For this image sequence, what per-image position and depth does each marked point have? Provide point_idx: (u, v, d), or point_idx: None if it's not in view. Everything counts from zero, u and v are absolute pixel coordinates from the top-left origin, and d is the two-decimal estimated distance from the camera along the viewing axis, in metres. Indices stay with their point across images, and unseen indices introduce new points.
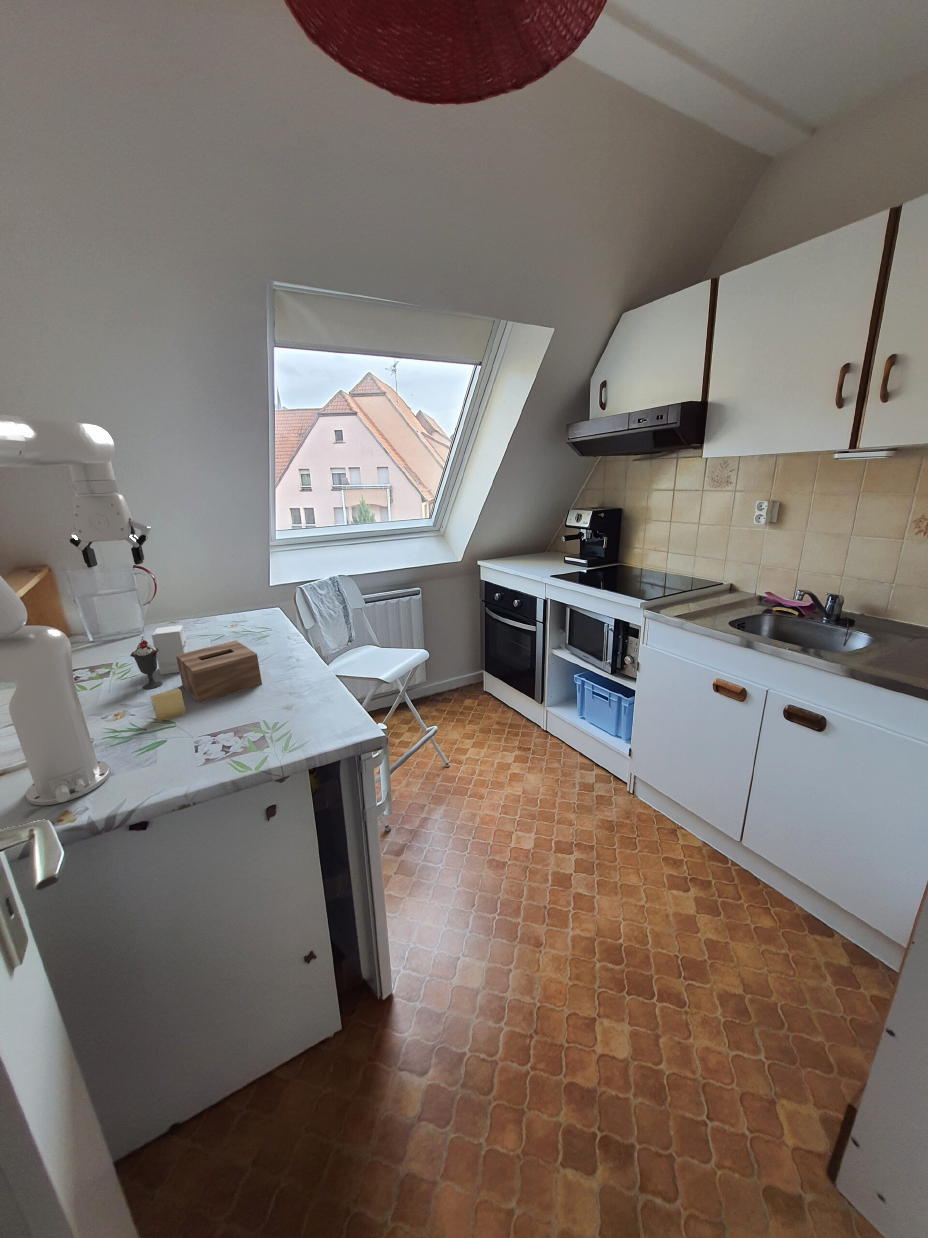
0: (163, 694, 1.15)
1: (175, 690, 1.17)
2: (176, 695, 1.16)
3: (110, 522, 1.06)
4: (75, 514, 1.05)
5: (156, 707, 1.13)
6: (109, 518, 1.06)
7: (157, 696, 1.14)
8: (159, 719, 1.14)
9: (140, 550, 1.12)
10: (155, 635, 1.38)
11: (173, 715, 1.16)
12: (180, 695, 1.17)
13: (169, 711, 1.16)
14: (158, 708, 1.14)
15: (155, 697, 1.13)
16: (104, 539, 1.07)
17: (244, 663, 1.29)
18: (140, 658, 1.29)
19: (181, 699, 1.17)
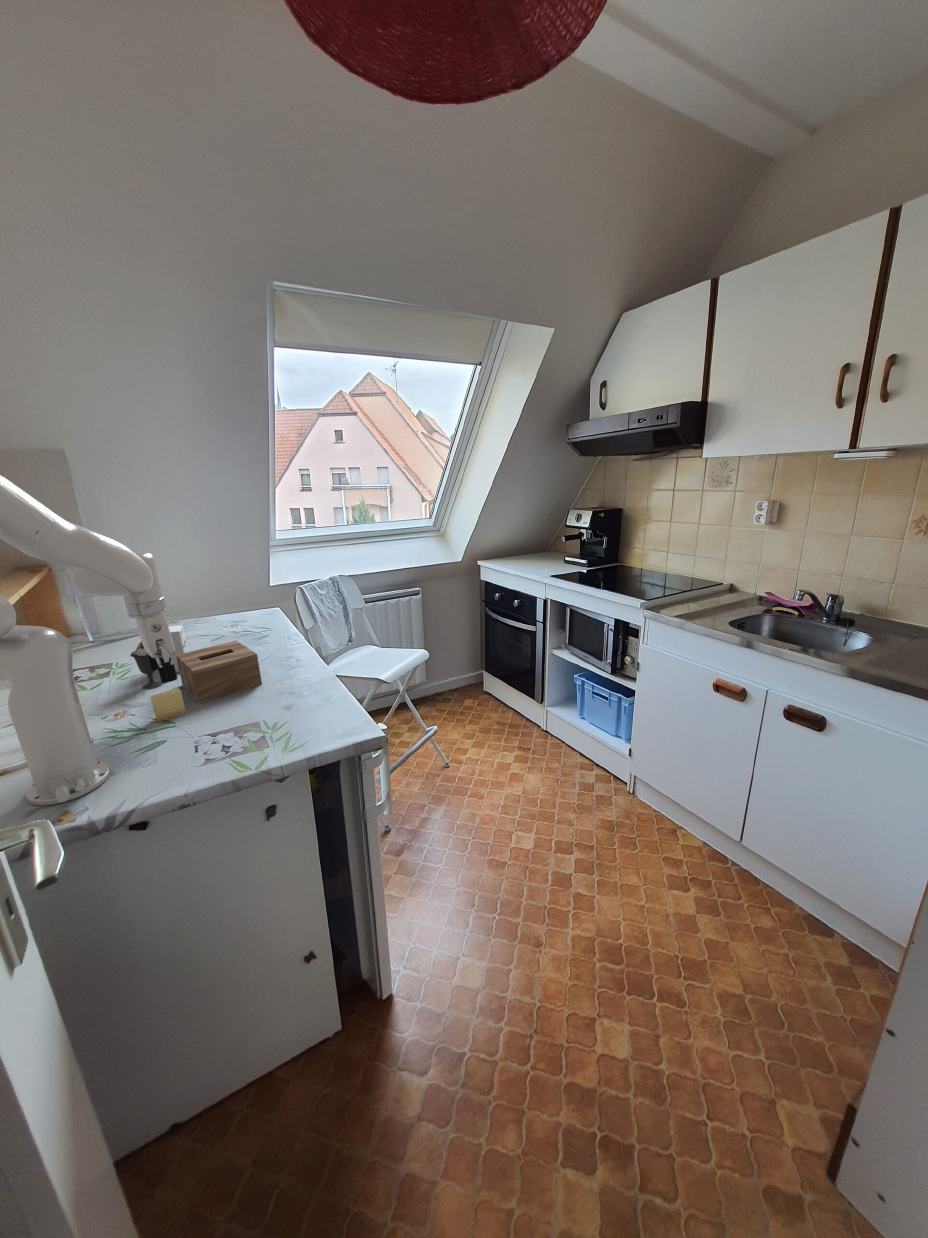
0: (163, 694, 1.15)
1: (175, 690, 1.17)
2: (176, 695, 1.16)
3: None
4: None
5: (156, 707, 1.13)
6: None
7: (157, 696, 1.14)
8: (159, 719, 1.14)
9: None
10: None
11: (173, 715, 1.16)
12: (180, 695, 1.17)
13: (169, 711, 1.16)
14: (158, 708, 1.14)
15: (155, 697, 1.13)
16: None
17: (244, 663, 1.29)
18: (140, 658, 1.29)
19: (181, 699, 1.17)
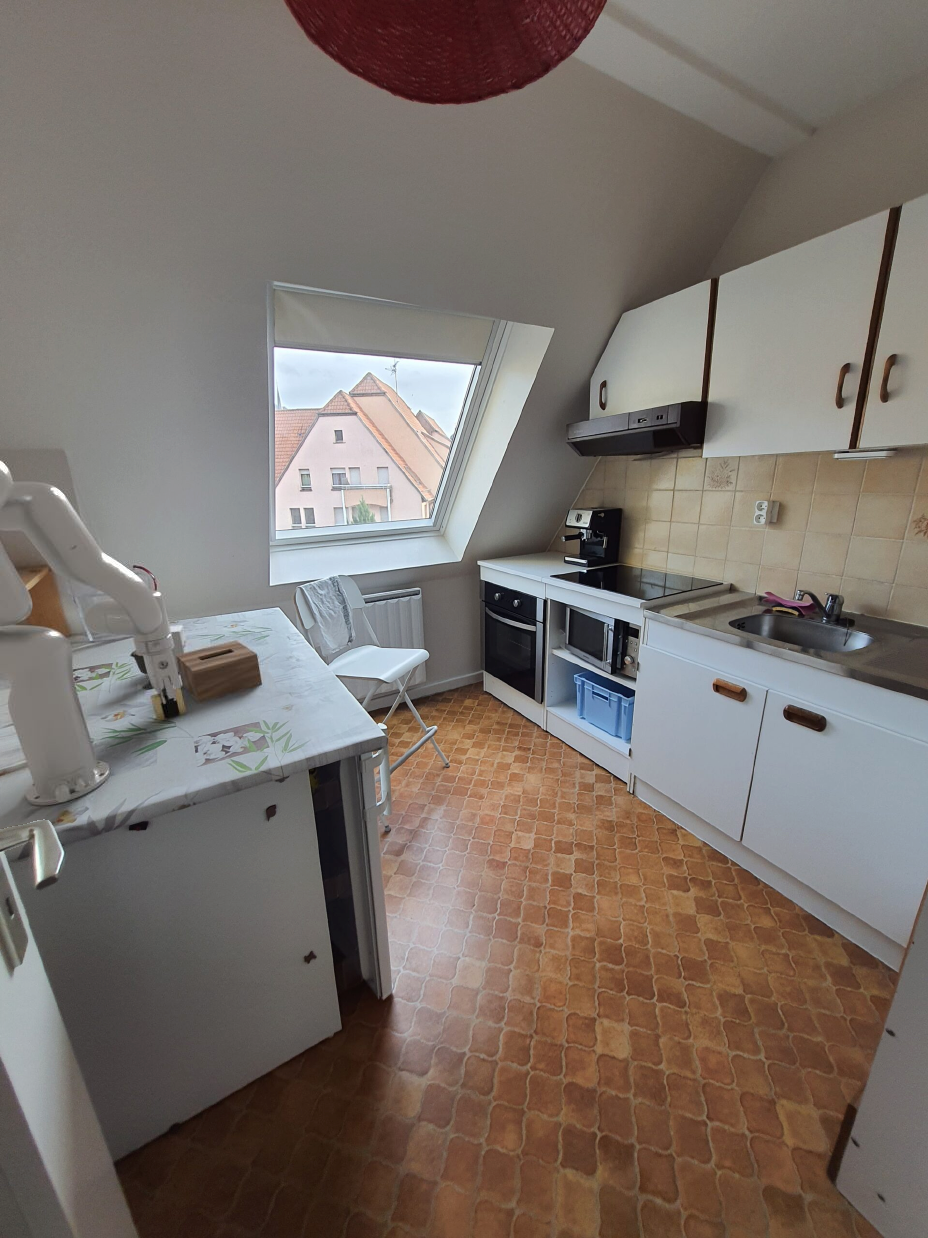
0: None
1: (175, 690, 1.17)
2: (176, 694, 1.16)
3: None
4: (175, 666, 1.12)
5: (156, 707, 1.14)
6: None
7: (157, 696, 1.14)
8: (159, 719, 1.15)
9: None
10: None
11: None
12: (180, 695, 1.17)
13: None
14: (158, 708, 1.14)
15: (155, 697, 1.14)
16: None
17: (244, 663, 1.29)
18: (140, 658, 1.29)
19: (181, 699, 1.17)
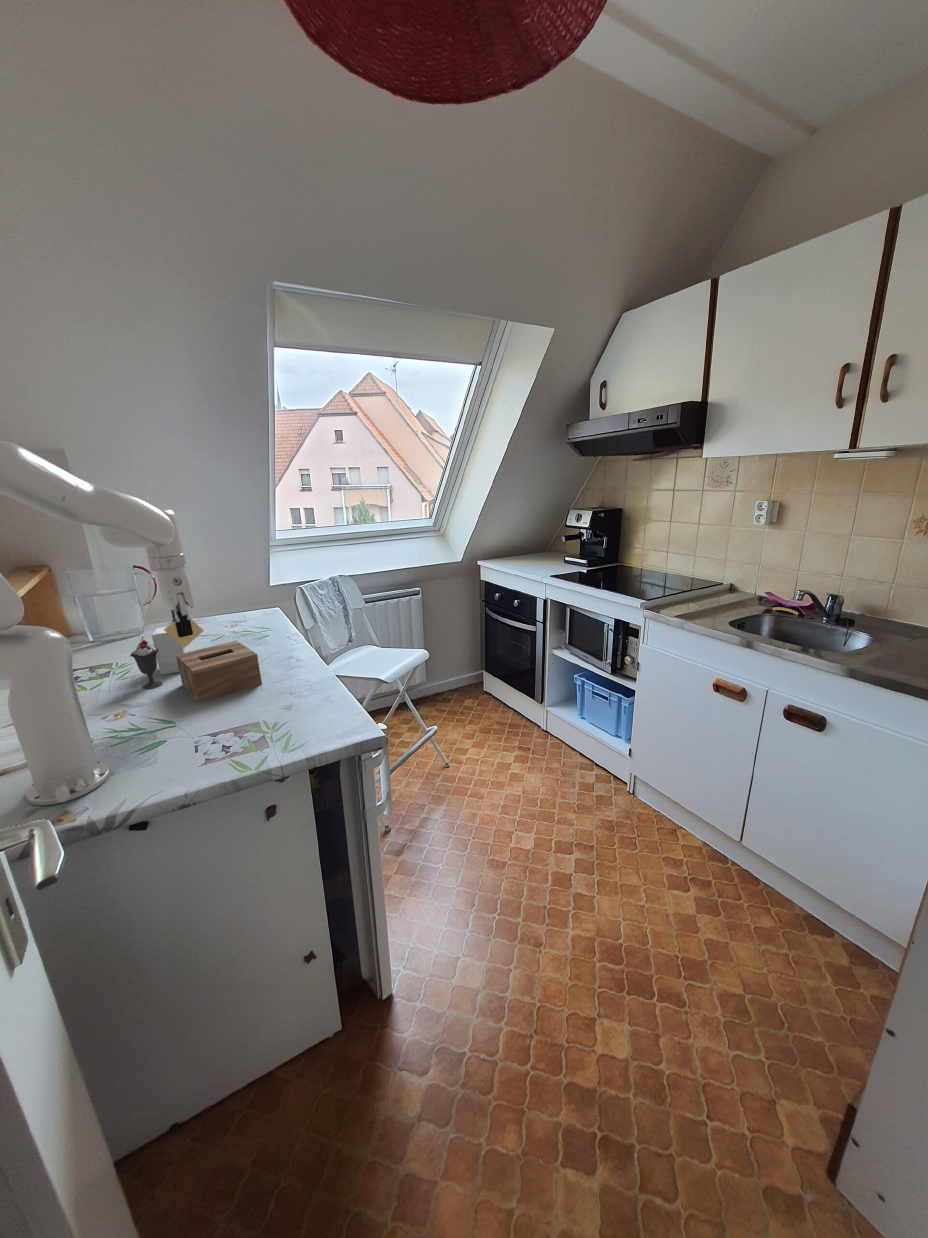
0: (173, 623, 1.18)
1: None
2: None
3: None
4: None
5: (174, 637, 1.18)
6: None
7: (168, 627, 1.17)
8: (184, 645, 1.20)
9: None
10: (155, 635, 1.38)
11: (194, 637, 1.21)
12: None
13: None
14: (176, 637, 1.18)
15: (167, 629, 1.17)
16: None
17: (244, 663, 1.29)
18: (140, 658, 1.29)
19: (191, 621, 1.20)
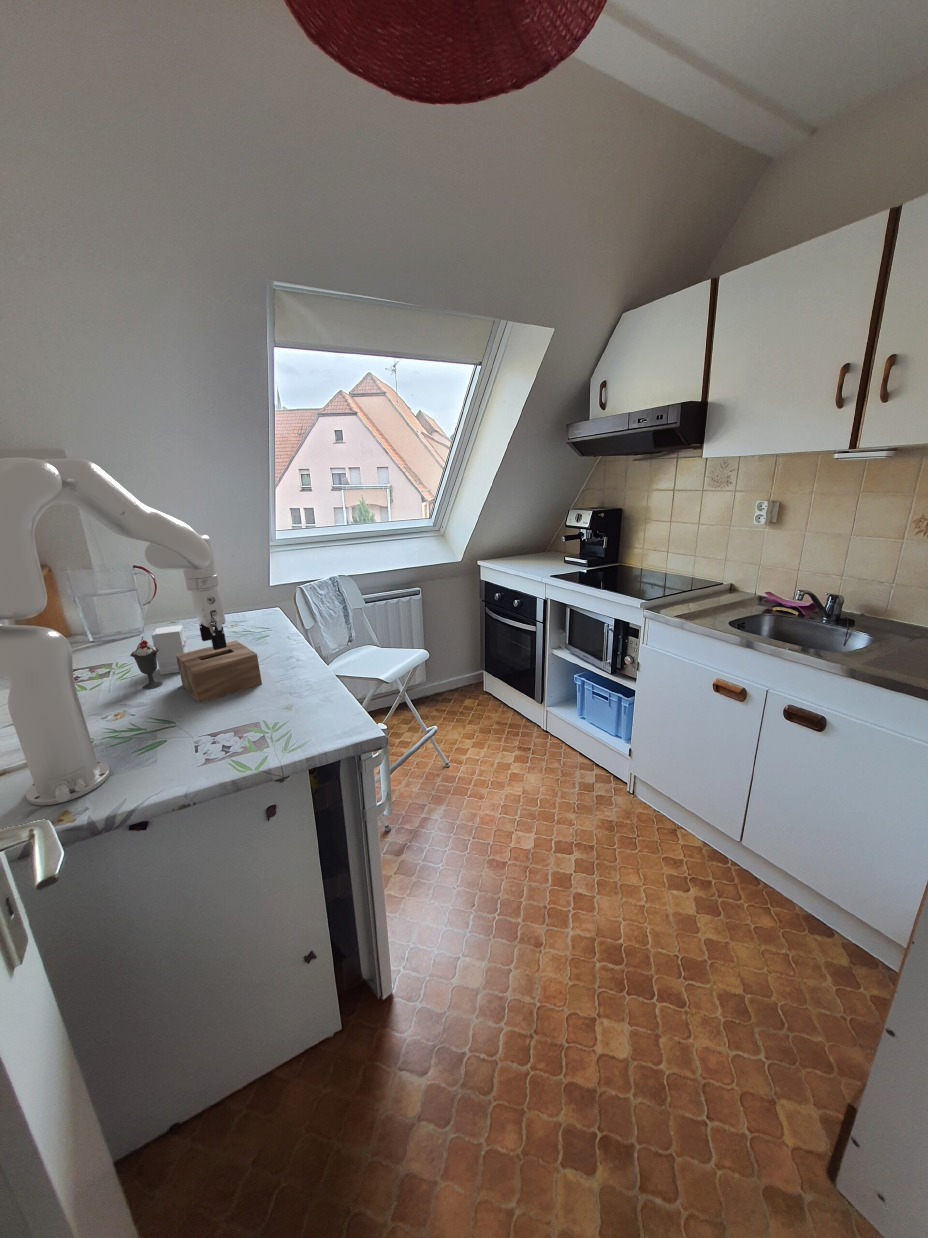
0: None
1: None
2: None
3: None
4: (221, 602, 1.25)
5: None
6: None
7: None
8: None
9: None
10: (155, 635, 1.38)
11: None
12: None
13: None
14: None
15: None
16: None
17: (244, 663, 1.29)
18: (140, 658, 1.29)
19: None
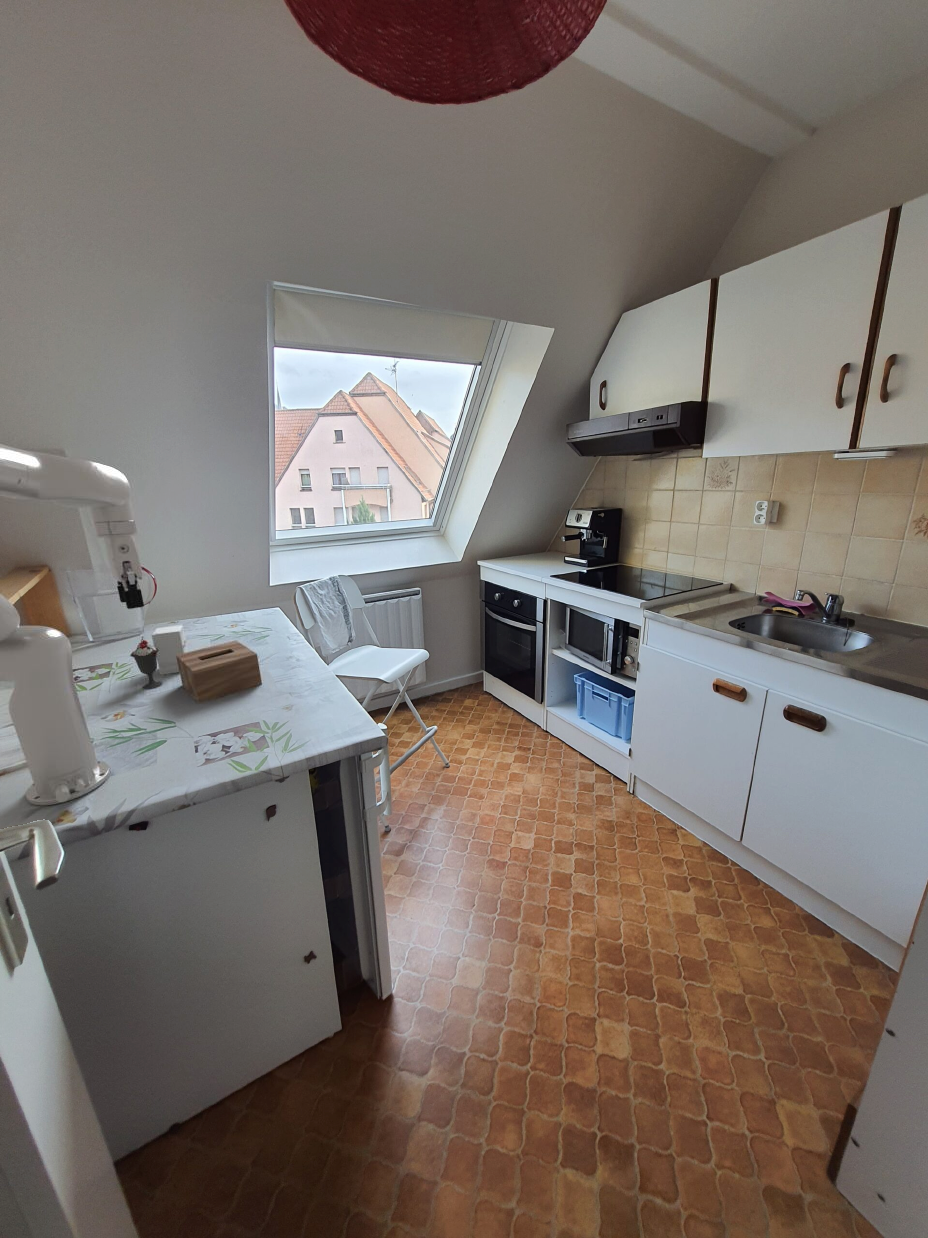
0: None
1: None
2: None
3: None
4: (137, 553, 1.06)
5: None
6: None
7: None
8: None
9: None
10: (155, 635, 1.38)
11: None
12: None
13: None
14: None
15: None
16: None
17: (244, 663, 1.29)
18: (140, 658, 1.29)
19: None
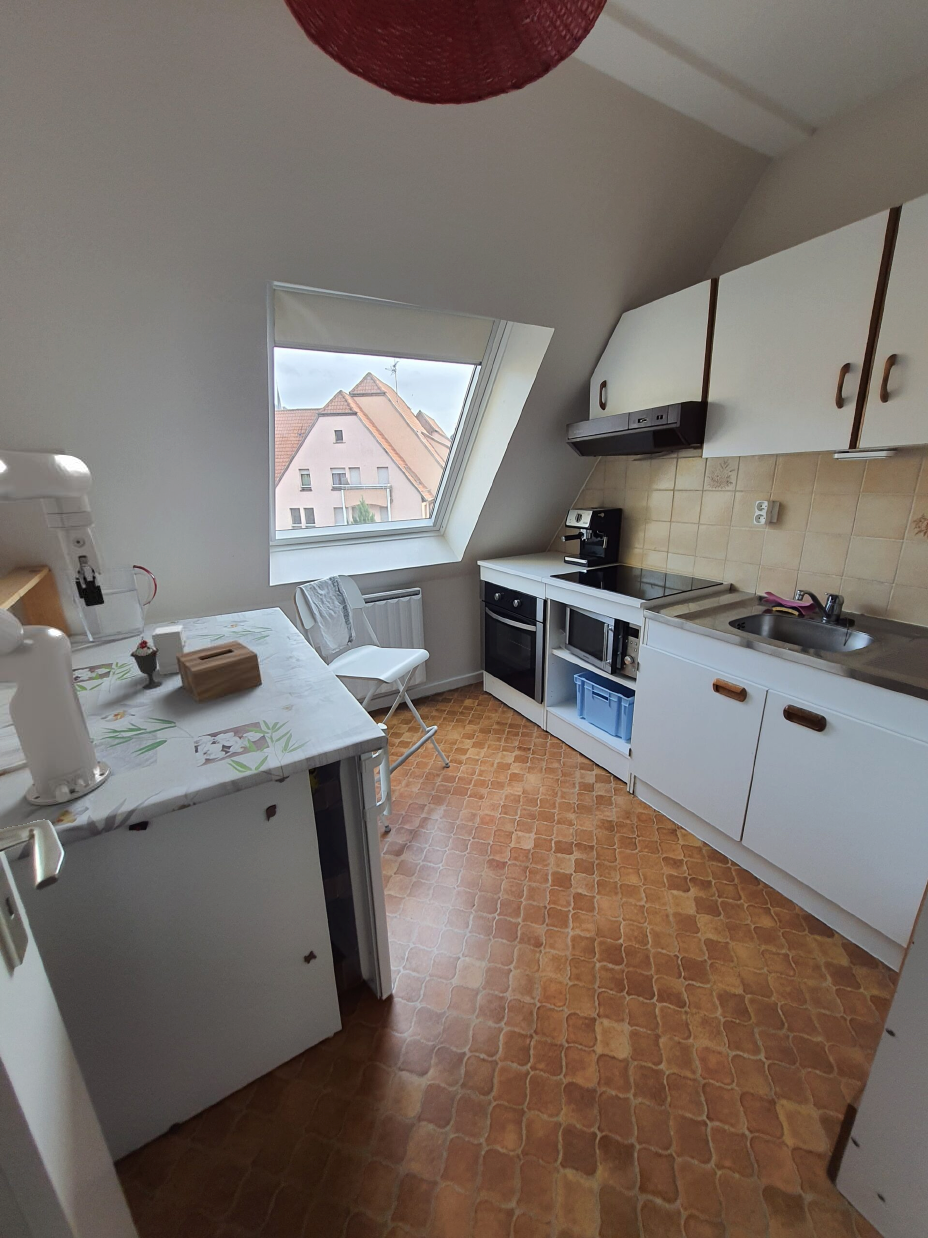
0: None
1: None
2: None
3: None
4: (94, 546, 0.99)
5: None
6: None
7: None
8: None
9: None
10: (155, 635, 1.38)
11: None
12: None
13: None
14: None
15: None
16: None
17: (244, 663, 1.29)
18: (140, 658, 1.29)
19: None
